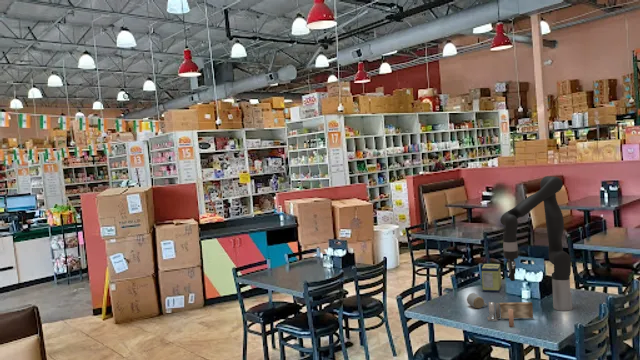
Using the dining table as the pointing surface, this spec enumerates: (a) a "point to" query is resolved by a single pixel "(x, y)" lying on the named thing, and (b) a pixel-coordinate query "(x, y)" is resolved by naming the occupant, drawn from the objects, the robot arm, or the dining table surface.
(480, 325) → the dining table surface
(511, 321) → the latch post
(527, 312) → the gate
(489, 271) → the protein box
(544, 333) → the dining table surface
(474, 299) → the ceramic mug
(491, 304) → the hinge post
